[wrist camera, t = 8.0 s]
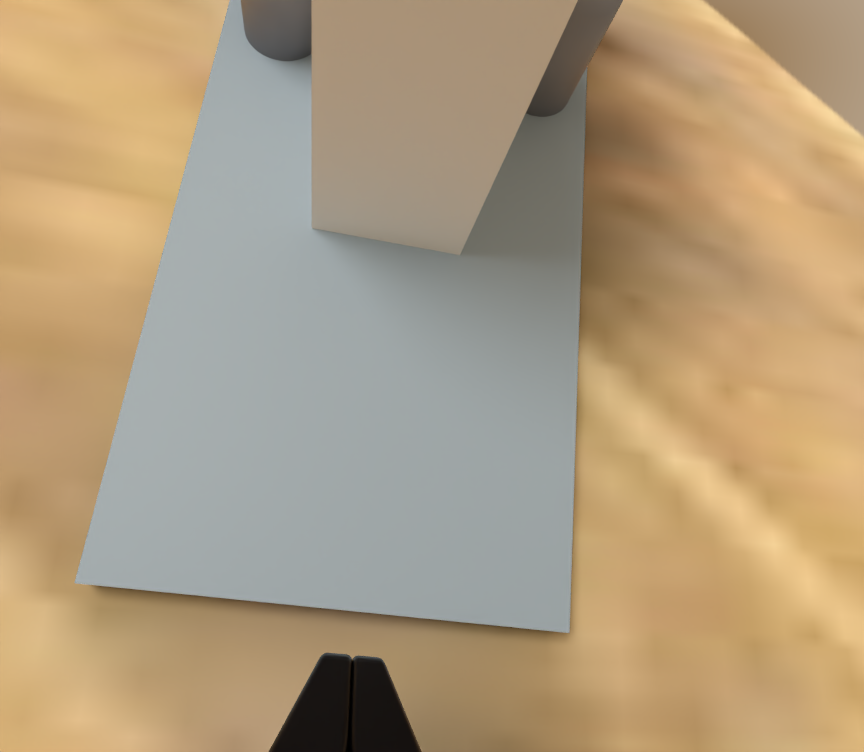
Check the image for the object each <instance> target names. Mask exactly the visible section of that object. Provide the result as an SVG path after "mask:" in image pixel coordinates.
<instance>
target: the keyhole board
mask: <svg viewBox="0 0 864 752" xmlns="http://www.w3.org/2000/svg"><path fill="white" fill-rule="evenodd" d="M622 1H623V0H578V1H577V3H576V6H575V8H574V10H573V12H572V14H571V16H570V18H569V21H568V23H567V25H566V27H565V29H564V31H563V34H562V36H561V38H560V40H559V42H558V44H557V47H556V49H555V51H554V53H553V55H552V57H551V59H550V62H549V64H548V66H547V68H546V70H545V72H544V75H543V77H542V79H541V81H540V83H539V85H538V88H537V90H536V92H535V94H534V96H533V98H532V100H531V103H530V105H529V107H528V109H527V111H526V113H525V116H524V118H523V120H522V122H521V124H520V126H519V129H518V131H517V133H516V135H515V137H514V139H513V141H512V144H511V146H510V148H509V150H508V152H507V154H506V157H505V159H504V161H503V163H502V165H501V167H500V170H499V172H498V174H497V176H496V178H495V180H494V182H493V185H492V187H491V189H490V191H489V193H488V195H487V198H486V200H485V202H484V204H483V206H482V208H481V211H480V213H479V215H478V217H477V219H476V221H475V223H474V226H473V228H472V230H471V232H470V234H469V236H468V239H467V241H466V243H465V245H464V247H463V249H462V252H461V254H460V255H456V254H451V253H445V252H440V251H434V250H429V249H423V248H418V247H412V246H407V245H401V244H396V243H390V242H385V241H379V240H374V239H368V238H363V237H357V236H352V235H346V234H341V233H335V232H330V231H324V230H319V229H313V228H312V18H311V0H230V2H229V6H228V9H227V13H226V17H225V21H224V24H223V28H222V32H221V36H220V39H219V43H218V47H217V51H216V54H215V58H214V62H213V66H212V69H211V73H210V77H209V81H208V84H207V88H206V92H205V96H204V99H203V103H202V107H201V111H200V114H199V118H198V122H197V126H196V129H195V133H194V137H193V141H192V144H191V148H190V152H189V156H188V159H187V163H186V167H185V171H184V174H183V178H182V182H181V186H180V189H179V193H178V197H177V201H176V205H175V208H174V212H173V216H172V220H171V223H170V227H169V231H168V235H167V238H166V242H165V246H164V250H163V253H162V257H161V261H160V265H159V268H158V272H157V276H156V280H155V283H154V287H153V291H152V295H151V298H150V302H149V306H148V310H147V313H146V317H145V321H144V325H143V328H142V332H141V336H140V340H139V343H138V347H137V351H136V355H135V358H134V362H133V366H132V370H131V373H130V377H129V381H128V385H127V388H126V392H125V396H124V400H123V403H122V407H121V411H120V415H119V418H118V422H117V426H116V430H115V433H114V437H113V441H112V445H111V448H110V452H109V456H108V460H107V463H106V467H105V471H104V475H103V478H102V482H101V486H100V490H99V493H98V497H97V501H96V505H95V508H94V512H93V516H92V520H91V523H90V527H89V531H88V535H87V538H86V542H85V546H84V550H83V553H82V557H81V561H80V565H79V568H78V572H77V576H76V580H75V583H78V584H88V585H98V586H108V587H118V588H128V589H138V590H148V591H158V592H167V593H177V594H187V595H197V596H207V597H217V598H227V599H237V600H247V601H257V602H267V603H277V604H287V605H297V606H306V607H316V608H326V609H336V610H346V611H356V612H366V613H376V614H386V615H396V616H406V617H416V618H426V619H436V620H445V621H455V622H465V623H475V624H485V625H495V626H505V627H515V628H525V629H535V630H545V631H555V632H565V633H569V632H570V600H571V568H572V536H573V504H574V472H575V440H576V408H577V376H578V344H579V312H580V280H581V248H582V216H583V184H584V152H585V120H586V88H587V66H588V64H589V62H590V60H591V59H592V57H593V55H594V53H595V51H596V49H597V47H598V46H599V44H600V42H601V40H602V38H603V36H604V35H605V33H606V31H607V29H608V27H609V25H610V24H611V22H612V20H613V18H614V16H615V14H616V12H617V11H618V9H619V7H620V5H621V3H622Z"/></svg>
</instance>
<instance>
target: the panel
mask: <svg viewBox="0 0 864 752" xmlns="http://www.w3.org/2000/svg"><path fill="white" fill-rule="evenodd" d="M577 1H578V0H311V18H312V228H313V229H319V230H324V231H330V232H335V233H341V234H346V235H352V236H357V237H363V238H368V239H374V240H379V241H385V242H390V243H396V244H401V245H407V246H412V247H418V248H423V249H429V250H434V251H440V252H445V253H451V254H456V255H460V254H461V252H462V249H463V247H464V245H465V243H466V241H467V239H468V236H469V234H470V232H471V230H472V228H473V226H474V223H475V221H476V219H477V217H478V215H479V213H480V211H481V208H482V206H483V204H484V202H485V200H486V198H487V195H488V193H489V191H490V189H491V187H492V185H493V182H494V180H495V178H496V176H497V174H498V172H499V170H500V167H501V165H502V163H503V161H504V159H505V157H506V154H507V152H508V150H509V148H510V146H511V144H512V141H513V139H514V137H515V135H516V133H517V131H518V129H519V126H520V124H521V122H522V120H523V118H524V116H525V113H526V111H527V109H528V107H529V105H530V103H531V100H532V98H533V96H534V94H535V92H536V90H537V88H538V85H539V83H540V81H541V79H542V77H543V75H544V72H545V70H546V68H547V66H548V64H549V62H550V59H551V57H552V55H553V53H554V51H555V49H556V47H557V44H558V42H559V40H560V38H561V36H562V34H563V31H564V29H565V27H566V25H567V23H568V21H569V18H570V16H571V14H572V12H573V10H574V8H575V6H576V3H577Z"/></svg>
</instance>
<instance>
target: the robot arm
mask: <svg viewBox="0 0 864 752" xmlns="http://www.w3.org/2000/svg"><path fill="white" fill-rule="evenodd" d="M269 752H421V749H420V747H419V744H418V742H417V740H416V737H415V735H414V732H413V730H412V728H411V725H410V723H409V720H408V718H407V716H406V713H405V711H404V708H403V706H402V704H401V701H400V699H399V696H398V694H397V692H396V689H395V687H394V684H393V682H392V679H391V677H390V675H389V672H388V670H387V667H386V665H385V663H384V662H383V660H382V659H381V658H378V657H368V656H355V657H354V658H353V659H351V657H350V656H349V655H346V654H335V653H324V654H323V655H322V656H321V657H320V659H319V660H318V662H317V664H316V666H315V668H314V669H313V671H312V673H311V675H310V677H309V679H308V680H307V682H306V684H305V686H304V688H303V690H302V692H301V693H300V695H299V697H298V699H297V701H296V703H295V704H294V706H293V708H292V710H291V712H290V714H289V715H288V717H287V719H286V721H285V723H284V725H283V726H282V728H281V730H280V732H279V734H278V736H277V737H276V739H275V741H274V743H273V745H272V747H271V748H270V750H269Z"/></svg>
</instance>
